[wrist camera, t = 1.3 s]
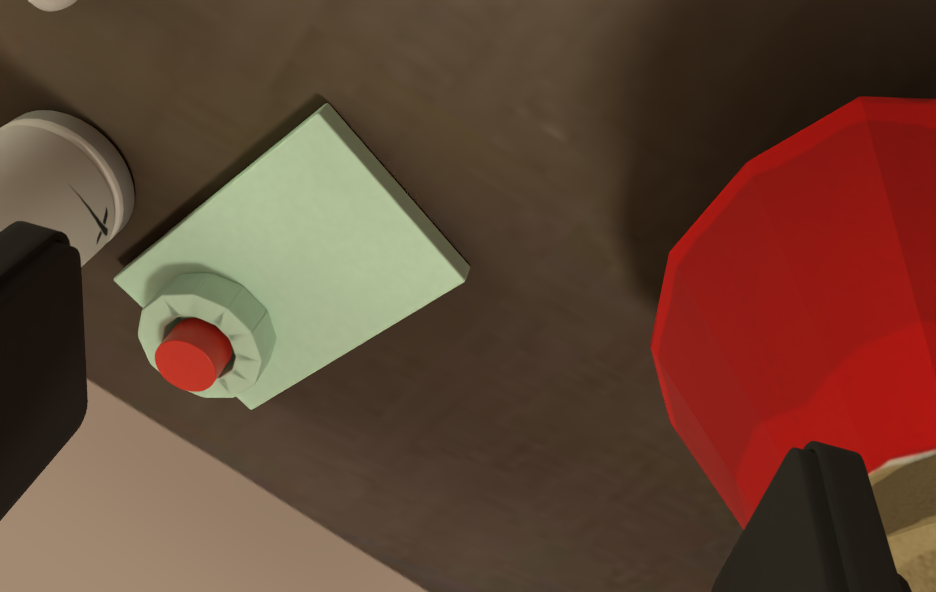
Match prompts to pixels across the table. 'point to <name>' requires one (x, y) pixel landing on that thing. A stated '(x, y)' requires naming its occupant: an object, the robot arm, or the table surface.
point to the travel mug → (64, 179)
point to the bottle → (816, 317)
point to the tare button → (193, 354)
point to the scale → (294, 261)
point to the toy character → (52, 4)
